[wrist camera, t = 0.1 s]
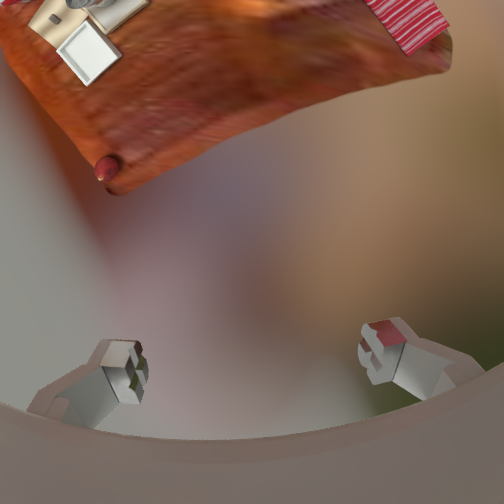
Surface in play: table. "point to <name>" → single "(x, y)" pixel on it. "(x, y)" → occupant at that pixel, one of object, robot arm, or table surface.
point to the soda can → (12, 2)
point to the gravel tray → (144, 3)
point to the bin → (88, 52)
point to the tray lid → (57, 21)
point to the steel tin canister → (89, 3)
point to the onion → (106, 169)
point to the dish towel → (409, 21)
